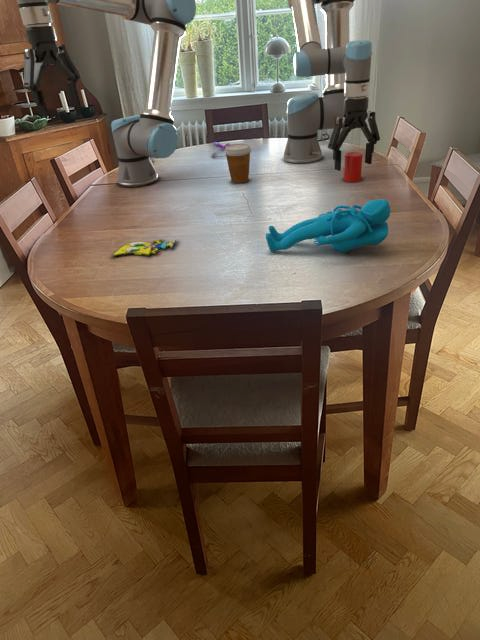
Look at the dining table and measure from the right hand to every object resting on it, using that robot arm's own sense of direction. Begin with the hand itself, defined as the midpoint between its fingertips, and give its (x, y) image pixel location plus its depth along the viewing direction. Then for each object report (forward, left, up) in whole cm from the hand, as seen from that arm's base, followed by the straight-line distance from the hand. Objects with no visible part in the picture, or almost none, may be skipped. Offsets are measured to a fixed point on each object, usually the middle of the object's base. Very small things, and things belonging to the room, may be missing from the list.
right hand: (353, 166), depth 163 cm
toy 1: (+62, -49, -4) cm, 80 cm away
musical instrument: (-39, -60, -4) cm, 71 cm away
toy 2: (+57, -1, -4) cm, 57 cm away
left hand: (+39, -81, +27) cm, 94 cm away
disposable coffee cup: (+3, -40, -4) cm, 40 cm away
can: (0, 0, -4) cm, 4 cm away
